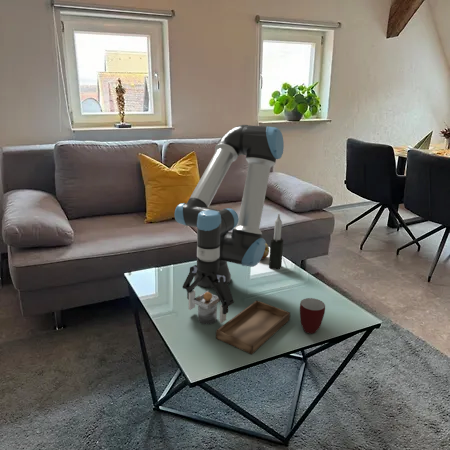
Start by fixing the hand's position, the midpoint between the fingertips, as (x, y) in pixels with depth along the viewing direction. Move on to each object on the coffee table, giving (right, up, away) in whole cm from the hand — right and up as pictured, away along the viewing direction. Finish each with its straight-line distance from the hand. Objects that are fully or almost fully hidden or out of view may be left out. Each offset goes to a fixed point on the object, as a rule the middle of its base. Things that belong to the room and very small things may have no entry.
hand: (206, 314), depth 143 cm
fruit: (+23, +15, +52) cm, 59 cm away
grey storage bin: (0, -2, +1) cm, 2 cm away
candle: (+29, +12, +43) cm, 54 cm away
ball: (0, +5, -2) cm, 6 cm away
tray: (+16, -4, -4) cm, 17 cm away
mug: (+35, -4, -3) cm, 36 cm away
